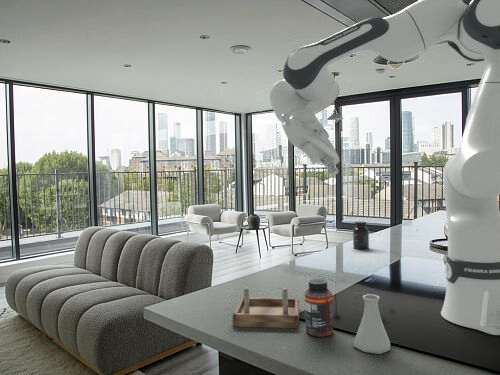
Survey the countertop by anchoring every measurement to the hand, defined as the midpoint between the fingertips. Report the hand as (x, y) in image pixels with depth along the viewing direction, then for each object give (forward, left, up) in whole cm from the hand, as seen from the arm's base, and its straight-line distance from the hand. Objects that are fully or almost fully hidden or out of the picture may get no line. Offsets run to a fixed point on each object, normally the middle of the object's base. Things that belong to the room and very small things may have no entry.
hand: (326, 167), depth 91 cm
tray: (+15, +2, -36) cm, 39 cm away
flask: (-7, +16, -36) cm, 40 cm away
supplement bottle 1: (+3, +10, -36) cm, 38 cm away
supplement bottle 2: (-20, -84, -36) cm, 94 cm away
